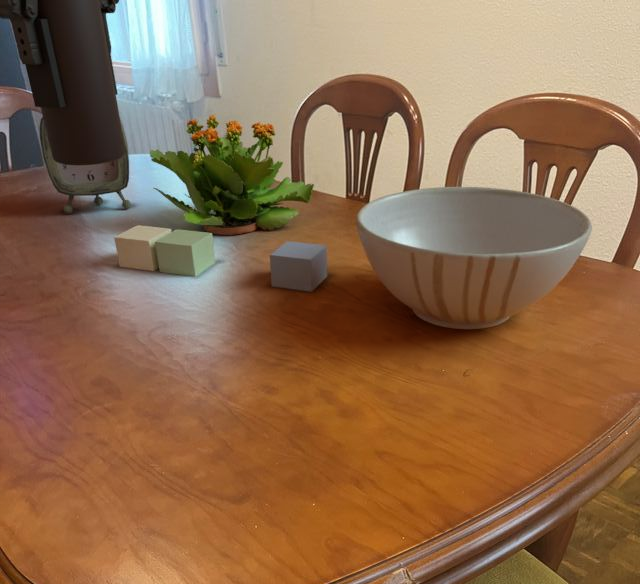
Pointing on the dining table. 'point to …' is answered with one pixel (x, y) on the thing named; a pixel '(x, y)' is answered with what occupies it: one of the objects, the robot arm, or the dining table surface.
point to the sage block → (185, 252)
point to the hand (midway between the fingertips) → (78, 99)
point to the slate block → (298, 266)
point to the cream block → (139, 247)
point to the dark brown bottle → (82, 86)
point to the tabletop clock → (86, 175)
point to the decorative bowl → (471, 250)
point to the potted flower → (232, 181)
